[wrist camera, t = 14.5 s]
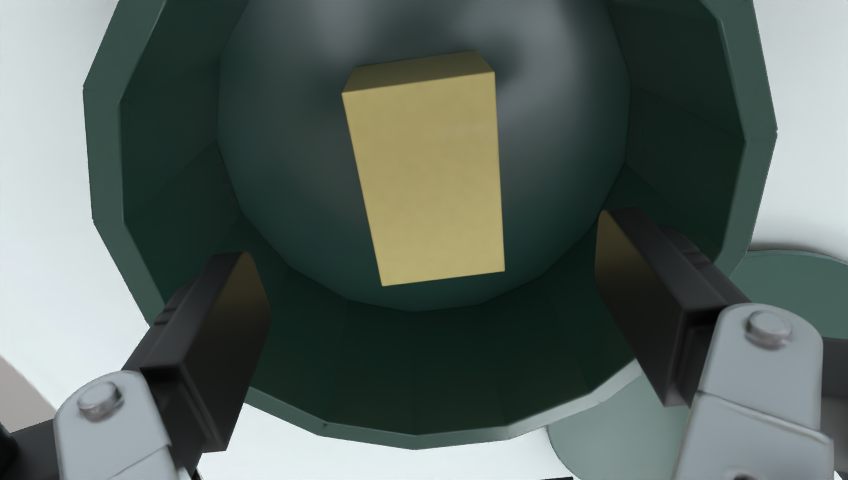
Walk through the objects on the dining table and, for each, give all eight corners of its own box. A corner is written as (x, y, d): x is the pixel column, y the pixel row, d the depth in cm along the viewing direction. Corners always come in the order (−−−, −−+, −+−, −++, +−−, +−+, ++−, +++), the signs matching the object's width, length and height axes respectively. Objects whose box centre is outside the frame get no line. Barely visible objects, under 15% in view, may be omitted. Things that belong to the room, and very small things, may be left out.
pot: (120, -80, 15) (-87, -110, 9) (672, -164, 15) (880, -263, 8) (274, 335, 24) (225, 471, 18) (624, 293, 24) (707, 418, 17)
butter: (353, 66, 17) (340, 92, 14) (477, 49, 17) (495, 71, 14) (385, 233, 21) (381, 286, 17) (488, 220, 21) (505, 271, 17)
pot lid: (541, 268, 23) (581, 360, 17) (945, 219, 22) (1115, 299, 17) (542, 499, 32) (568, 604, 27) (826, 469, 31) (911, 571, 26)
